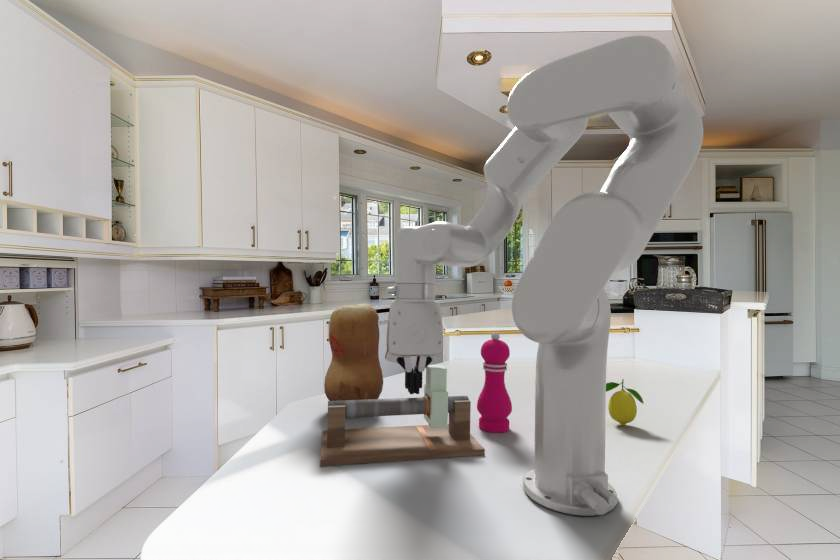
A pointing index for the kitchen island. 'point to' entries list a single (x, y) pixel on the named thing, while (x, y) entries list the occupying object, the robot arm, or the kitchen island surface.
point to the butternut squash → (354, 354)
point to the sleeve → (437, 396)
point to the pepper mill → (494, 387)
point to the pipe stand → (396, 432)
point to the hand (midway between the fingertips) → (413, 392)
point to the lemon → (622, 403)
